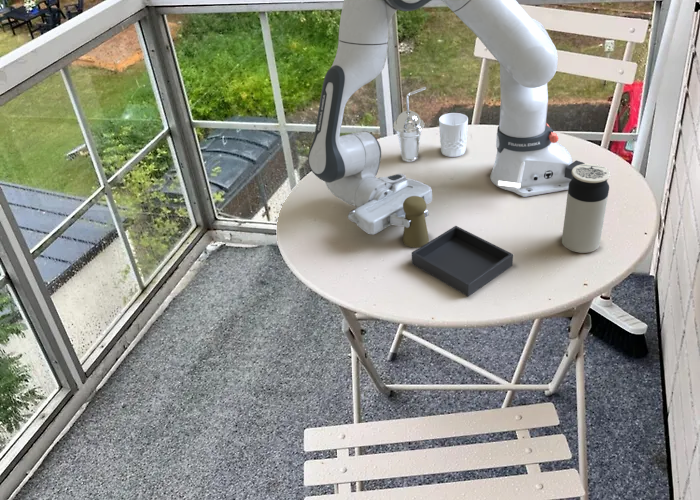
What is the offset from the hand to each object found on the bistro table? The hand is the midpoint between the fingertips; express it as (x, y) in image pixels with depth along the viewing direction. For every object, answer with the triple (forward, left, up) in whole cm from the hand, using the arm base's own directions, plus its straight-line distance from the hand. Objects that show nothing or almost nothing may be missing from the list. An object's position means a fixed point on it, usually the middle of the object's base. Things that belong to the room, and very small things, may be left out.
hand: (418, 219), depth 147 cm
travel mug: (-35, +4, -6) cm, 36 cm away
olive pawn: (+1, -1, -6) cm, 6 cm away
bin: (-9, +10, -6) cm, 14 cm away
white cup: (-12, -43, -6) cm, 45 cm away
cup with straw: (0, -41, -6) cm, 41 cm away
